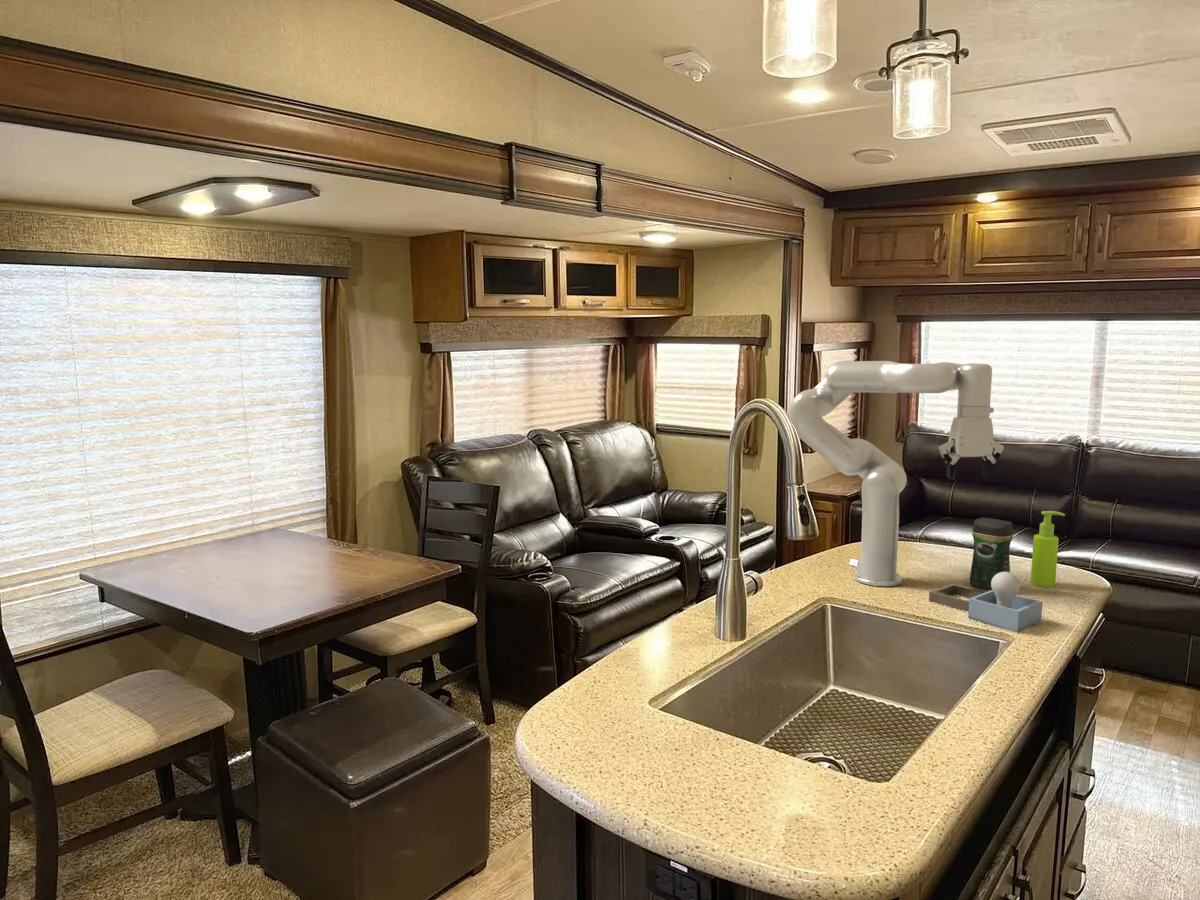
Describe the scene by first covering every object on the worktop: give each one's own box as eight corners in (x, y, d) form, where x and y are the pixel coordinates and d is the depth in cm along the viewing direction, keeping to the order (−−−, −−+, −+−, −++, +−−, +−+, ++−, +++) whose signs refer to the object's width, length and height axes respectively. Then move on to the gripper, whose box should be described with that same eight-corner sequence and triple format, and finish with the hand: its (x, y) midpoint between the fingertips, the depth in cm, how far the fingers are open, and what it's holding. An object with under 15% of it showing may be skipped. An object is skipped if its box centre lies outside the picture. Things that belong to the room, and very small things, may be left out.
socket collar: (928, 601, 207) (929, 591, 207) (951, 592, 214) (952, 583, 213) (970, 613, 199) (971, 603, 198) (993, 603, 205) (994, 594, 205)
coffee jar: (1014, 588, 217) (1019, 520, 215) (1001, 594, 212) (1005, 524, 210) (978, 579, 225) (982, 513, 222) (964, 585, 220) (968, 518, 217)
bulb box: (968, 618, 195) (969, 598, 194) (992, 608, 202) (993, 589, 201) (1017, 632, 186) (1018, 611, 185) (1041, 621, 192) (1042, 601, 192)
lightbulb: (988, 612, 197) (991, 567, 196) (1016, 615, 195) (1019, 570, 194) (989, 619, 192) (992, 573, 191) (1019, 622, 189) (1021, 576, 188)
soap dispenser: (1062, 588, 217) (1068, 514, 214) (1034, 586, 218) (1039, 513, 216) (1055, 581, 223) (1060, 509, 220) (1027, 580, 224) (1032, 508, 221)
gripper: (996, 410, 212) (991, 475, 215) (933, 411, 210) (929, 477, 212) (1014, 413, 205) (1009, 480, 207) (949, 414, 202) (945, 482, 205)
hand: (969, 478), depth 210 cm, fingers open, 9 cm apart
